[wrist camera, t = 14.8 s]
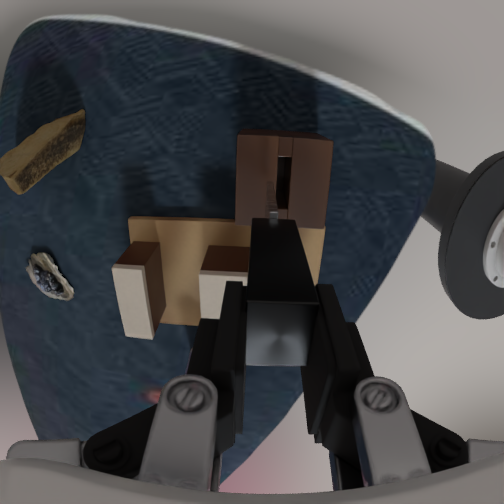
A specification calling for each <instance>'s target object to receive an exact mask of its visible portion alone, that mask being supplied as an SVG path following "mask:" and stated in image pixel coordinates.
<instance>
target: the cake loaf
mask: <svg viewBox="0 0 504 504" xmlns="http://www.w3.org/2000/svg"><path fill="white" fill-rule="evenodd" d="M249 251H250V247H240V246H217V245H209V246H208V249H207V252H206V254H205V257H204V260H203V263H202V266H201V269H200V272H199V291H200V309H201V318H211V319H219V318H220V313H221V307H222V302H223V296H224V291H225V285H226V281H243V286H247V278H248V265H249Z"/></svg>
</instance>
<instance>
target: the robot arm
mask: <svg viewBox="0 0 504 504" xmlns="http://www.w3.org/2000/svg"><path fill="white" fill-rule="evenodd" d="M483 268H484V271H485V274H486V276H487V278H488V279H489V280H490V281H491V282H492V283H493V284H494V285H495V286H497V287H501V288H504V209H503V210H502V211H501V213H500V214H499V215H498V216H497V218H496V219H495V221H494V223H493V224H492V226H491V228H490V230H489V233H488V235H487V238H486V241H485V245H484V250H483ZM315 289H316V292H317V296H318V299H319V303H320V306H319V312H318V315H316V321H315V327H314V332H313V338H312V343H311V348H310V354H309V359H308V364H307V366H300V367H301V375H302V384H303V392H304V401H305V410H306V418H307V429H308V434H314V439H315V443H322V446H324V447H325V448H327V449H328V450H329V459H330V467H331V474H332V482H333V490H334V491H330V492H319V493H318V492H317V493H301V494H241V493H225V492H219V486H220V474H221V463H222V453H223V452H224V451H226V450H227V449H229V448H230V447H232V446H233V443H235V434H242V430H243V412H244V394H245V376H246V339H247V312H245V308H246V291H247V286H243V281H226V285H225V291H224V296H223V302H222V307H221V313H220V318H219V319H211V318H201V319H200V321H199V325H198V329H197V333H196V337H195V341H194V345H193V349H192V353H191V357H190V361H189V365H188V369H187V373H186V374H185V375H181V376H177V377H175V378H173V379H171V380H169V381H168V382H167V383H166V384H165V385H164V387H163V389H162V391H161V394H160V397H159V401H158V403H157V404H155V405H153V406H151V407H150V408H148V409H146V410H144V411H142V412H140V413H138V414H136V415H134V416H132V417H130V418H128V419H126V420H123V421H121V422H119V423H117V424H115V425H113V426H111V427H109V428H107V429H105V430H102V431H100V432H98V433H96V434H95V435H93V436H92V437H90V438H89V440H88V441H80V440H79V438H74V439H56V440H23V441H18V442H16V443H15V444H13V445H12V446H11V447H10V449H9V450H8V453H7V457H6V460H1V461H0V504H504V442H502V441H488V440H477V439H468V440H467V441H466V442H465V441H464V440H463V439H462V438H461V437H460V436H459V435H457V434H456V433H454V432H452V431H450V430H448V429H446V428H445V427H443V426H441V425H439V424H437V423H435V422H433V421H431V420H429V419H428V418H426V417H424V416H422V415H420V414H418V413H416V412H415V411H413V410H411V409H410V408H409V405H408V402H407V400H406V397H405V394H404V392H403V390H402V389H401V387H400V386H399V385H398V384H396V383H395V382H394V381H392V380H390V379H387V378H384V377H375V376H374V374H373V371H372V368H371V365H370V362H369V359H368V356H367V354H366V351H365V348H364V345H363V342H362V340H361V337H360V334H359V331H358V329H357V326H356V324H355V323H354V322H345V319H344V316H343V313H342V310H341V307H340V305H339V302H338V299H337V296H336V293H335V290H334V287H333V285H331V284H316V285H315Z"/></svg>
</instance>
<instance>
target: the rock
mask: <svg viewBox="0 0 504 504" xmlns="http://www.w3.org/2000/svg"><path fill="white" fill-rule="evenodd" d="M84 130H85V111H84V110H83V109H82V110H80V111H78V112H77V113H74V114H71V115H68V116H65V117H62V118H59V119H58V118H57V119H56V120H55V121H53V122H51V123H48V124H45V125H43V126H41V127H40V128H39V129H38V130H37V131H36V132H35V133H34V134H32V135H30V136H29V137H27V138H26V139H25V140H24V141H23V142H22V143H21V144H20V145H19V146H17V147H16V148H14V149H12V150H10V151H8V152H7V153H6V154H5V155H4V156H3V157H2V158H1V159H0V175H1V176H3V178H4V179H5V181H6V182H7V184H8V186H9V187H10V189H11V190H13V191H14V192H16V193H17V194H18V195H19V194H23V193H25V192H26V191H27V190H28V189H29V188H31V187H32V186H33V185H34V184H36V183H37V182H38V181H39V180H40V179H42V177H44V176H45V175H46V174H47V173H48V172H49V171H50V170H52V169H53V168H54V167H55V166H56V165H58V164H60V163H61V162H63V161H64V160H65V159H66V158H68V157H70V156H71V155H73V154H74V153H75V152H77V151H78V150H79V148H80V145H81V142H82V138H83V134H84Z"/></svg>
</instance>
